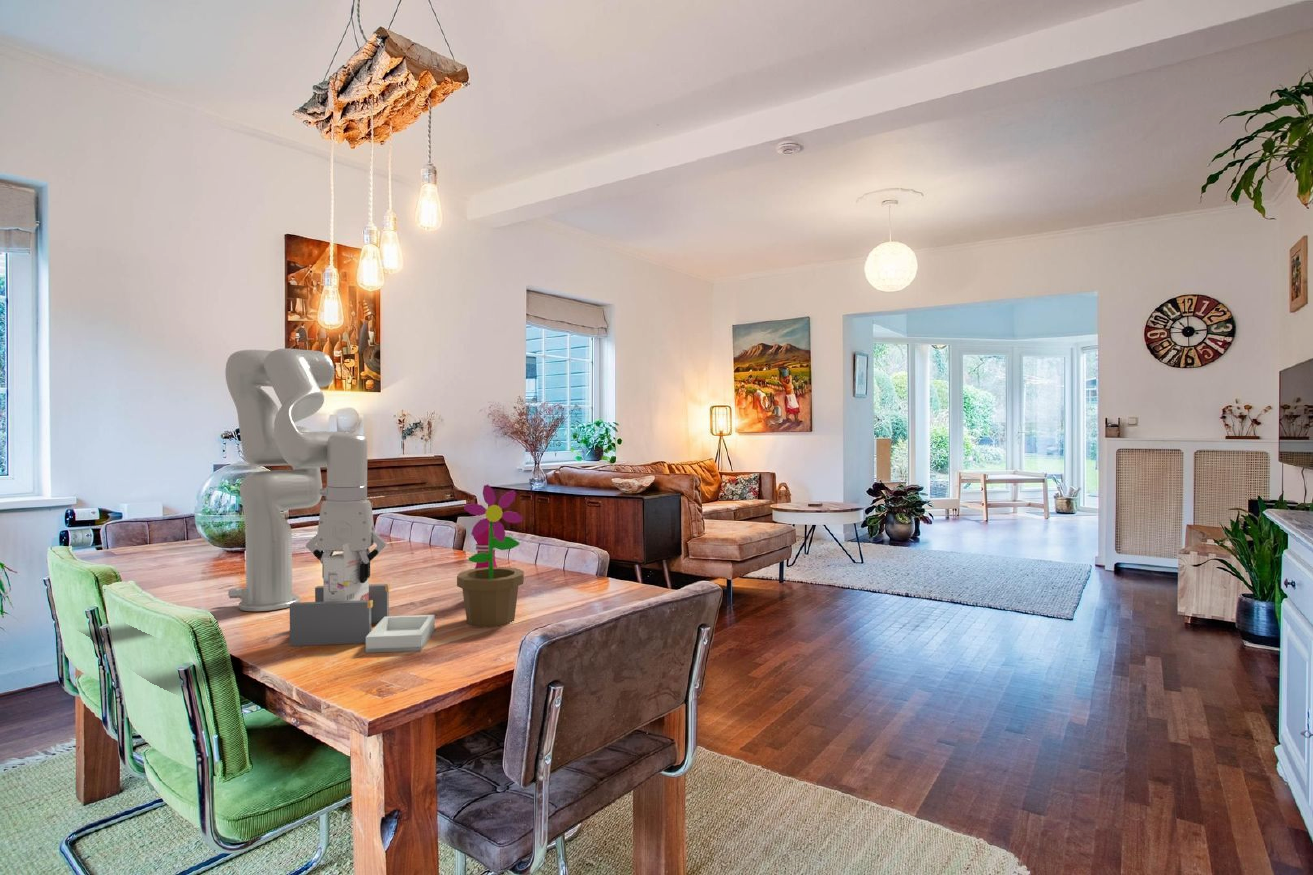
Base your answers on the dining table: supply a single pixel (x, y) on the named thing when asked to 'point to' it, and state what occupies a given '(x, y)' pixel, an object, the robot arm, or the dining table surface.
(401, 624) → the tray
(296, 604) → the bay
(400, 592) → the dining table surface
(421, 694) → the dining table surface
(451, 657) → the dining table surface
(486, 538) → the pepper mill
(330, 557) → the ink cartridge box
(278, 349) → the robot arm
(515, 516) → the flowerpot
